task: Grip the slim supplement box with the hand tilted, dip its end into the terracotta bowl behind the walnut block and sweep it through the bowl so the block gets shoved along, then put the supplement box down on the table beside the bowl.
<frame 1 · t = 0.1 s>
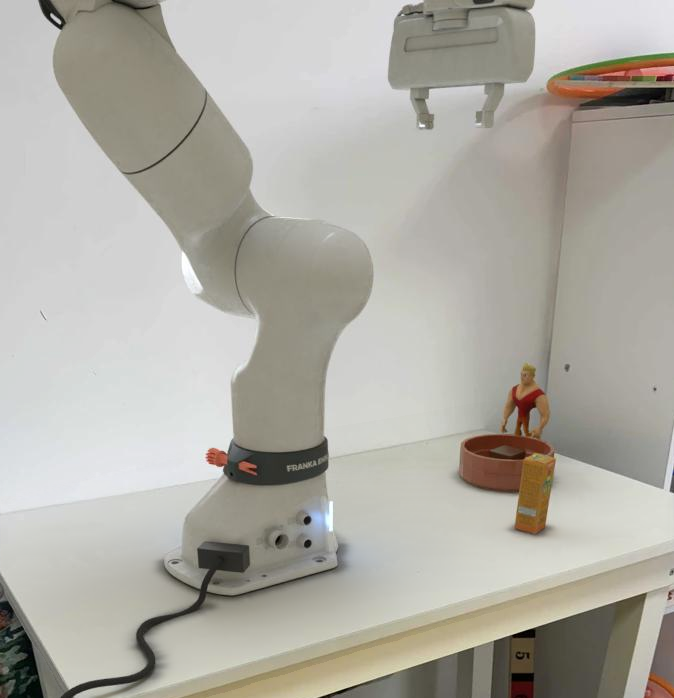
hand: (453, 128, 110), 48 cm above the table, tool pointing down, fingers open, 8 cm apart
action figure: (519, 453, 149), on the table
supplement box: (530, 530, 118), on the table
bowl: (504, 477, 137), on the table
block: (505, 475, 136), point 1 cm above the table, touching bowl
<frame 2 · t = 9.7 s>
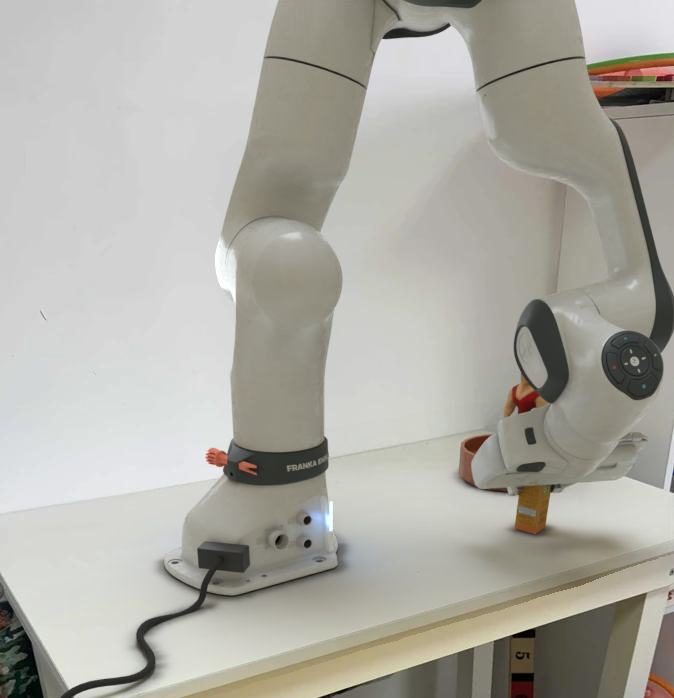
hand: (533, 489, 116), 5 cm above the table, tool tilted 45°, fingers closed on supplement box, 4 cm apart
supplement box: (530, 530, 118), on the table, touching gripper
everything else where it was.
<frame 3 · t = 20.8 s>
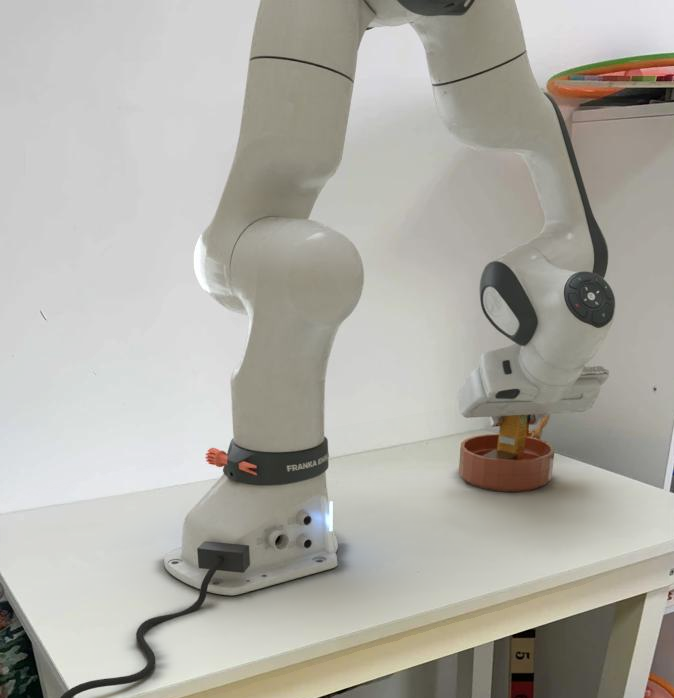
hand: (512, 421, 133), 9 cm above the table, tool tilted 45°, fingers closed on supplement box, 4 cm apart
supplement box: (510, 458, 135), point 3 cm above the table, touching block, gripper
block: (497, 480, 134), point 1 cm above the table, touching bowl, supplement box
everything else where it was.
when the fingers open (5 cm above the table, at t = 30.1 s): supplement box stays where it is, on the table.
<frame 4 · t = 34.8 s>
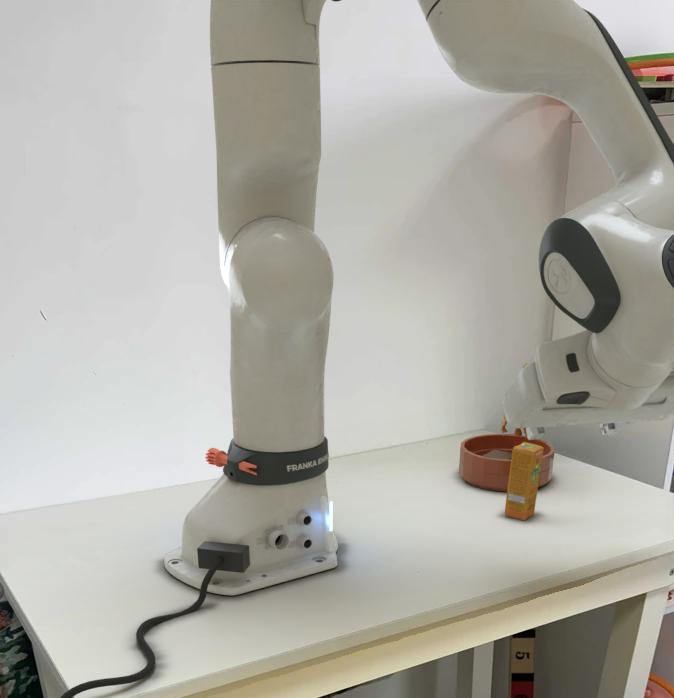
hand: (569, 432, 104), 15 cm above the table, tool tilted 45°, fingers open, 8 cm apart
supplement box: (520, 516, 122), on the table
block: (497, 480, 134), point 1 cm above the table, touching bowl
everything else where it was.
at the end: block inside the target area in the bowl (3.4 cm from its centre), point 0.6 cm above the bowl's base; block moved 2.7 cm from its start; supplement box inside the target area (0.9 cm from its centre), on the table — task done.
